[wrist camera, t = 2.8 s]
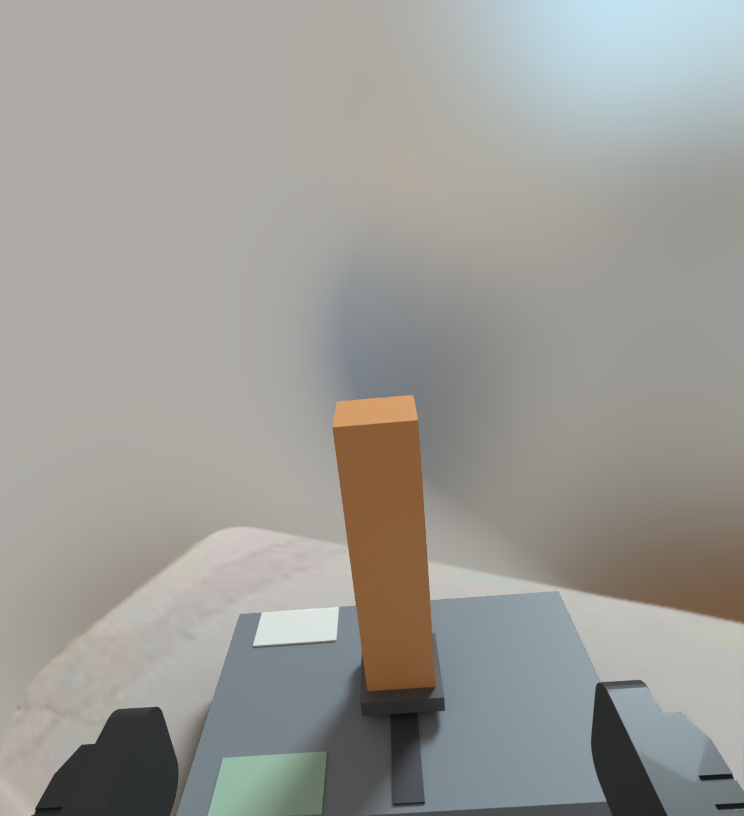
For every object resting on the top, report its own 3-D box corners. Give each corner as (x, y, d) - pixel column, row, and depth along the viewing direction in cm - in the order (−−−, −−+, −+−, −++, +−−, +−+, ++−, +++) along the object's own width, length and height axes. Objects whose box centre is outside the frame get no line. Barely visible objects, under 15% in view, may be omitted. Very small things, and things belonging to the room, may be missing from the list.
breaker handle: (445, 710, 23) (428, 425, 18) (362, 716, 23) (322, 434, 18) (436, 645, 26) (419, 389, 21) (363, 650, 27) (330, 397, 22)
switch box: (644, 865, 21) (655, 796, 20) (195, 889, 22) (171, 824, 20) (556, 645, 31) (558, 589, 30) (252, 666, 32) (239, 612, 30)
